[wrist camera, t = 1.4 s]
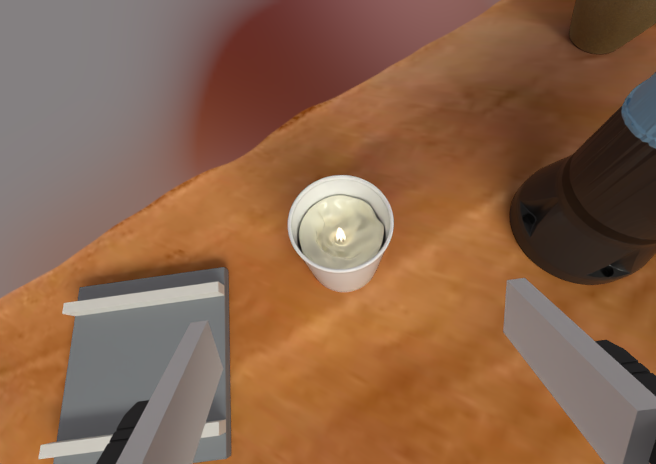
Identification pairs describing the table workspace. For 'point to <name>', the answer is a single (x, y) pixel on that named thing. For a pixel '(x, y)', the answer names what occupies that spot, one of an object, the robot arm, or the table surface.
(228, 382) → the grey tray with rails
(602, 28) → the plant pot
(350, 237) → the candle holder
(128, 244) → the table surface
